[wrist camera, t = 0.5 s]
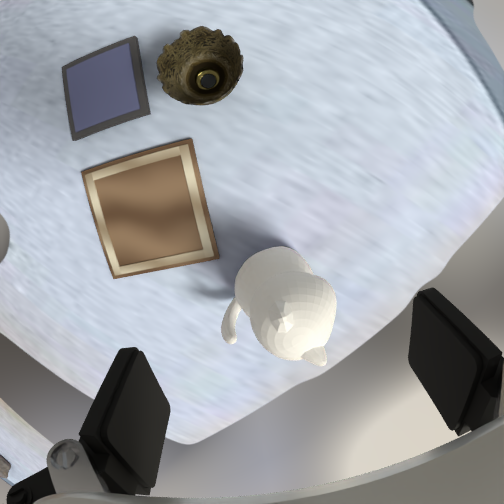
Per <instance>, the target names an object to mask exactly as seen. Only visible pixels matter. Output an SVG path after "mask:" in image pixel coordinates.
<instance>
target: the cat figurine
mask: <svg viewBox="0 0 504 504" xmlns="http://www.w3.org/2000/svg"><path fill="white" fill-rule="evenodd" d="M336 304H337V303H336V295H335V292H334V290H333V288H332V286H331V285H330V284H329V283H328V282H327V280H325V279H323V278H321V277H319V276H316V275H314V274H313V272H312V269H311V268H310V266H309V264H308V263H307V262H306V260H305V259H304V258H303V257H302V256H301V255H300V254H299V253H298V252H296V251H295V250H293V249H291V248H288V247H283V246H279V247H272V248H269V249H265V250H263V251H260V252H258V253H256V254H254V255H252V256H251V257H249V258H248V259H247V260H246V261H245V262H244V264H243V265H242V267H241V268H240V270H239V271H238V274H237V276H236V278H235V298H234V299H233V300H232V301H231V303H230V304H229V306H228V308H227V310H226V313H225V315H224V318H223V321H222V325H221V333H222V337H223V339H224V340H225V341H226V342H227V343H229V344H234V343H235V342H236V340H237V335H236V332H235V324H236V320H237V317H238V315H239V313H240V311H241V309H243V311H244V312H245V313H246V315H247V316H248V317H250V322H251V326H252V330H253V332H254V334H255V336H256V338H257V340H258V341H259V342H260V343H261V345H262V346H263V347H264V348H265V349H266V350H267V351H269V352H270V353H272V354H273V355H275V356H277V357H279V358H282V359H285V360H302V359H304V360H306V361H308V362H310V363H312V364H315V365H318V366H325V365H326V362H327V356H326V352H325V348H324V345H325V343H326V342H327V341H328V339H329V337H330V334H331V331H332V327H333V324H334V319H335V314H336Z"/></svg>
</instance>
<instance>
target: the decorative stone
mask: <svg viewBox="0 0 504 504" xmlns="http://www.w3.org/2000/svg"><path fill="white" fill-rule="evenodd" d="M10 468H11V464H10V463H9V462H8V461H7V460H6V459H5V458H4V457H3V456H1V455H0V477H2V478H7V477H8V472H9V470H10Z"/></svg>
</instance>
